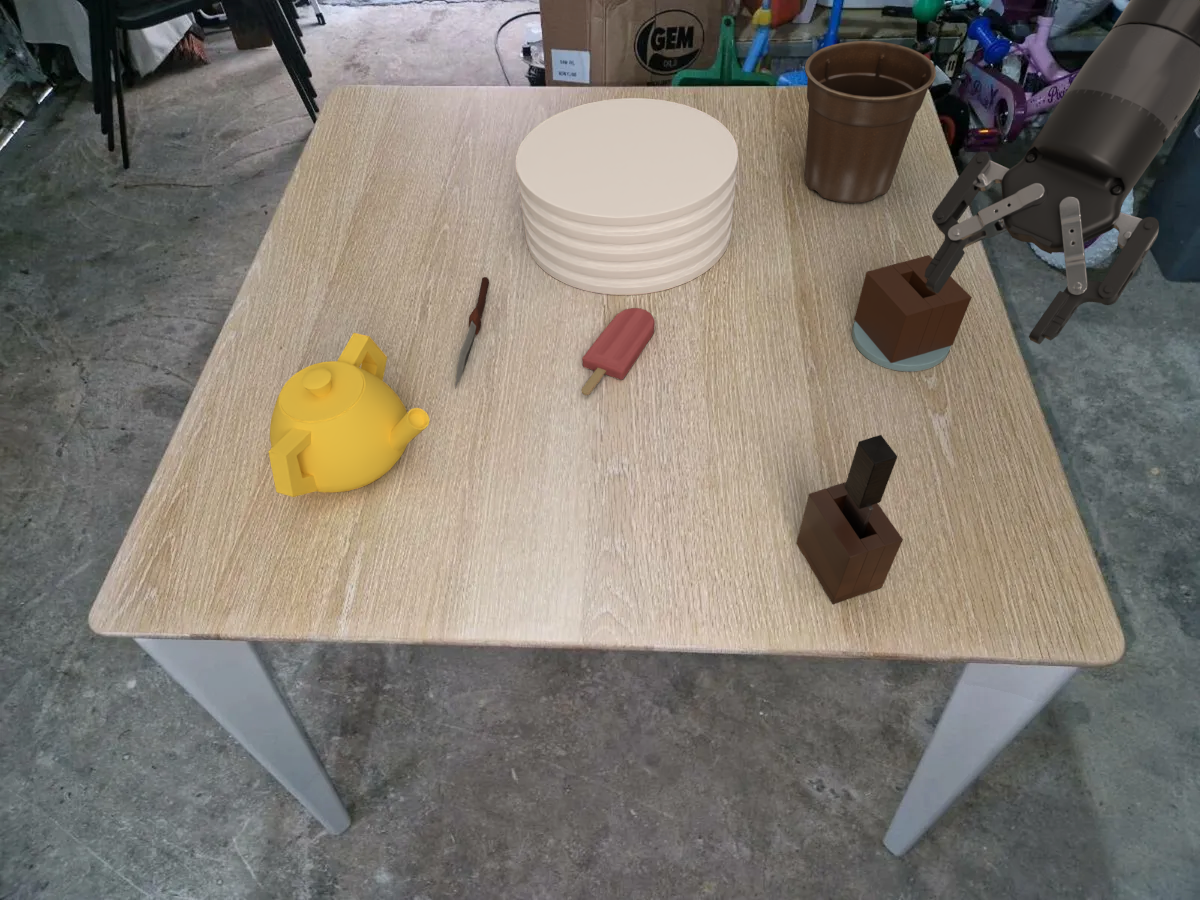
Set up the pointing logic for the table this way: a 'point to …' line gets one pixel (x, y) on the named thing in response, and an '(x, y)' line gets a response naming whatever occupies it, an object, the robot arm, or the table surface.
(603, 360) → the popsicle
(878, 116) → the plant pot
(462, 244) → the table surface
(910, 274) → the slotted wooden stand
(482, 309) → the knife
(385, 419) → the teapot
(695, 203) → the plate stack
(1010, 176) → the robot arm
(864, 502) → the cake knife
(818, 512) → the knife block
